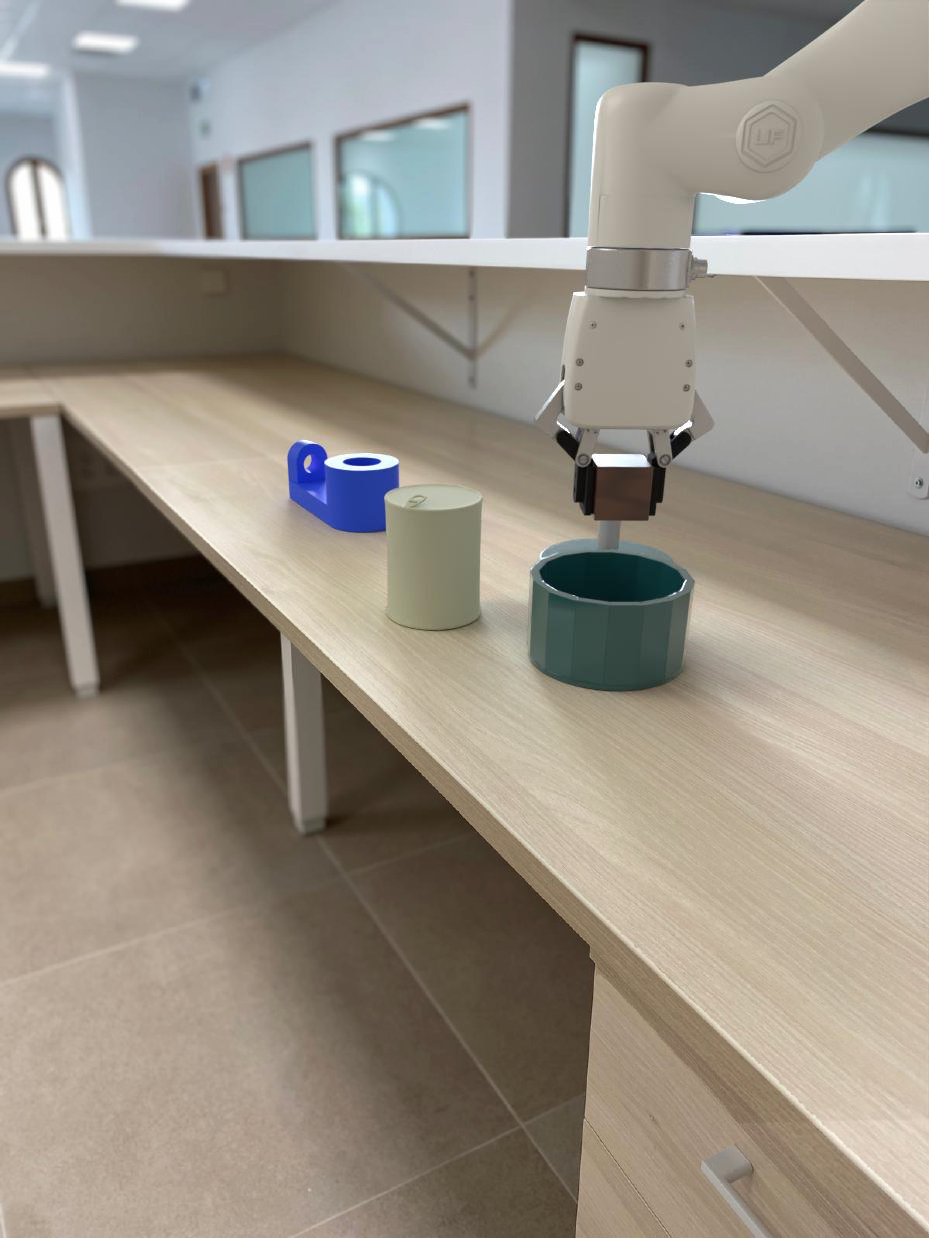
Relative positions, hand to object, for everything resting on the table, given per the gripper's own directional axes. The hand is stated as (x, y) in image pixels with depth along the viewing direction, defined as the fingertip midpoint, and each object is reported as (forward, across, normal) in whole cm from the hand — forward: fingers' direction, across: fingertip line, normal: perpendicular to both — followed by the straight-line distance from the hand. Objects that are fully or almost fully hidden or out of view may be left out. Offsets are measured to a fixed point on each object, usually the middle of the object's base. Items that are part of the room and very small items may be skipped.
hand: (616, 508), depth 76 cm
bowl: (+13, 0, 0) cm, 13 cm away
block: (0, 0, 0) cm, 0 cm away
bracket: (+14, +27, -44) cm, 53 cm away
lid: (+13, -4, -22) cm, 26 cm away
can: (+14, +15, -10) cm, 23 cm away
